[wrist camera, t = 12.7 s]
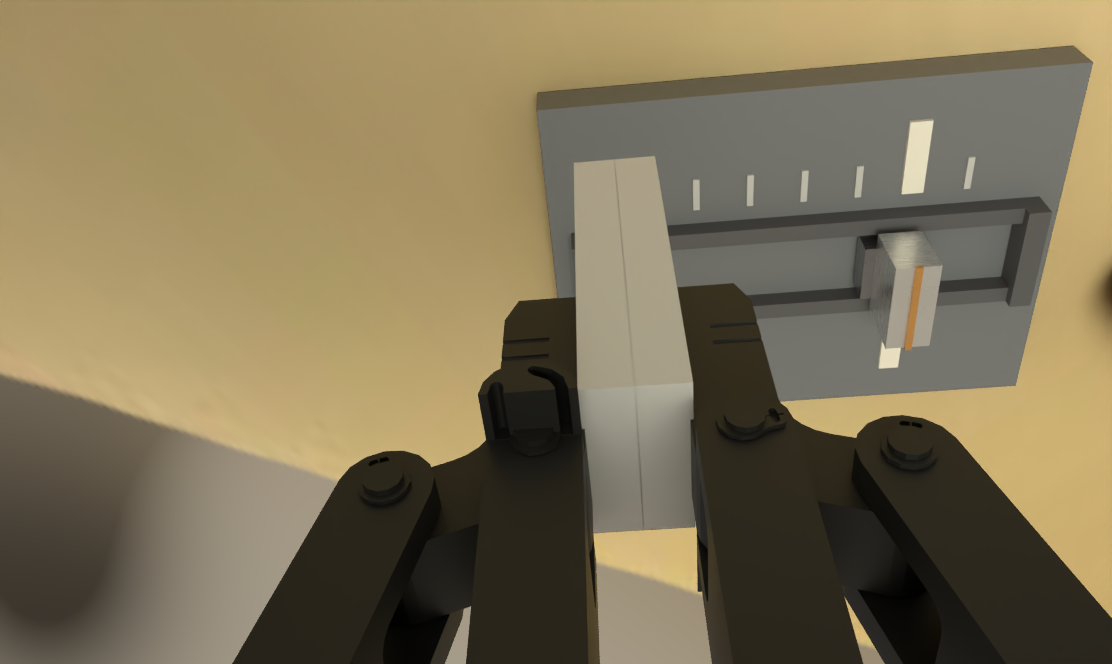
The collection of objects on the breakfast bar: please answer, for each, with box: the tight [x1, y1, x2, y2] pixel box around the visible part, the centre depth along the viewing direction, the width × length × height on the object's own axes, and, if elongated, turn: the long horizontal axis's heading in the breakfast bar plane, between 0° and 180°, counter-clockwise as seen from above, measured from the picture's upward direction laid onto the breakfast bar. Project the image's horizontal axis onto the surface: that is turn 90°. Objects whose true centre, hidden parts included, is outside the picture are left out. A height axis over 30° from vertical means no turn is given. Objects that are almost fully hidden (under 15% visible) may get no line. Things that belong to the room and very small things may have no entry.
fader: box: [853, 231, 943, 350], centre depth 45 cm, size 3×4×5 cm, turn 5°
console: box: [537, 46, 1093, 401], centre depth 48 cm, size 24×18×4 cm
